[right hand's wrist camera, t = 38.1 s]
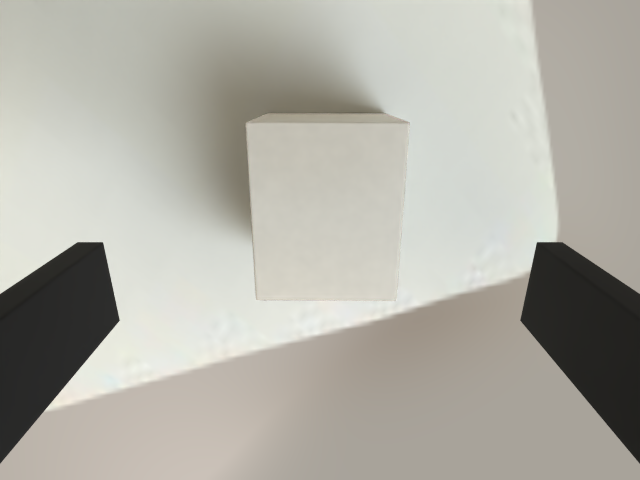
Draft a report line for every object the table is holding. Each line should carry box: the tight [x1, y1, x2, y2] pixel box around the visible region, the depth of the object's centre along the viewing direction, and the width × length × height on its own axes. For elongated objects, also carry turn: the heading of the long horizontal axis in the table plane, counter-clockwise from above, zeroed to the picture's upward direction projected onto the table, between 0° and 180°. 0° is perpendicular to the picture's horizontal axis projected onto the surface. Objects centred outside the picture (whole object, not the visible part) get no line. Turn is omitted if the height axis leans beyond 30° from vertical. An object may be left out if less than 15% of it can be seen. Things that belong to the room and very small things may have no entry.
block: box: [245, 113, 410, 301], centre depth 23 cm, size 8×9×7 cm
